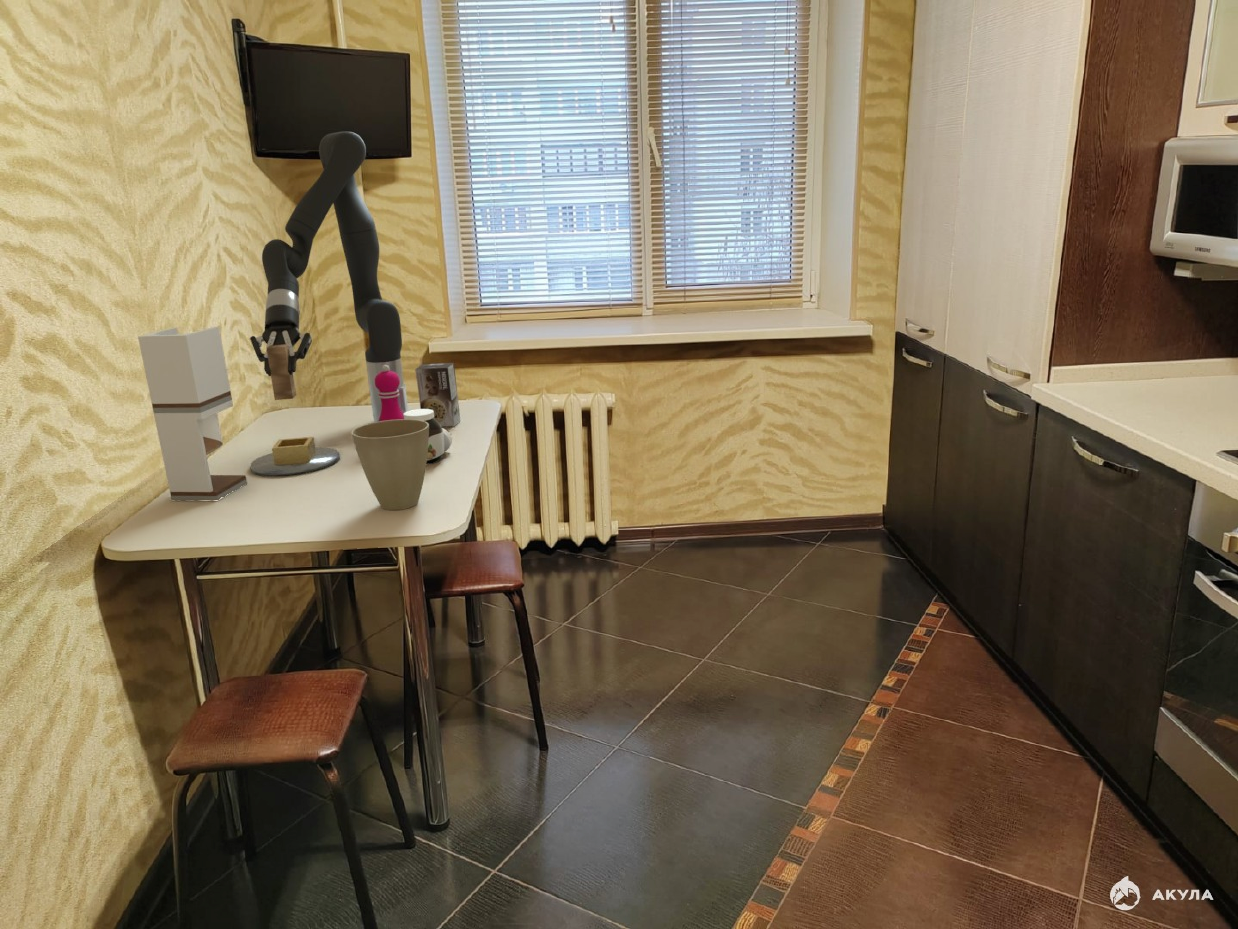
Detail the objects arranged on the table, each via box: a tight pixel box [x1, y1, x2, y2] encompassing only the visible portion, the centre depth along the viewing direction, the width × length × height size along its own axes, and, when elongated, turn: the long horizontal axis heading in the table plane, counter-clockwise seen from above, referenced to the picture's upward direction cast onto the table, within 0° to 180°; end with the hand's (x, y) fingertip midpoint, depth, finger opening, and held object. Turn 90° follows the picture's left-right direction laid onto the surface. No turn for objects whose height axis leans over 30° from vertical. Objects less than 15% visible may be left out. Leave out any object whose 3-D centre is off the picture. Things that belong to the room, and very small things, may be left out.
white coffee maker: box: [137, 326, 248, 501], centre depth 191 cm, size 11×11×35 cm
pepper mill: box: [375, 365, 404, 422], centre depth 225 cm, size 7×7×20 cm
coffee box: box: [414, 362, 461, 428], centre depth 242 cm, size 9×6×16 cm
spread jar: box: [404, 408, 453, 465], centre depth 212 cm, size 12×11×12 cm
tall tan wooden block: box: [266, 344, 297, 401], centre depth 208 cm, size 4×4×12 cm
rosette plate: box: [250, 436, 341, 478], centre depth 214 cm, size 20×20×5 cm
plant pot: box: [351, 419, 429, 511], centre depth 181 cm, size 15×15×16 cm
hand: (280, 373), depth 206 cm, fingers closed on tall tan wooden block, 4 cm apart
